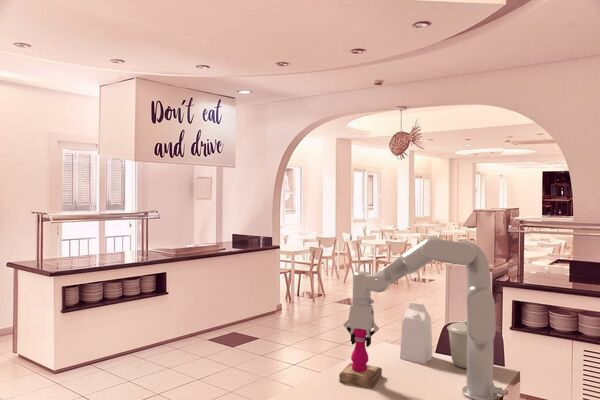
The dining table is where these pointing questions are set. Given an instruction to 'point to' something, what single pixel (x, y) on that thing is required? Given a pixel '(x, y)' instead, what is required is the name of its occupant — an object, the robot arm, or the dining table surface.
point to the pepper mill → (359, 351)
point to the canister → (458, 343)
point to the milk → (416, 334)
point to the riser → (361, 376)
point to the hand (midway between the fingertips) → (360, 344)
